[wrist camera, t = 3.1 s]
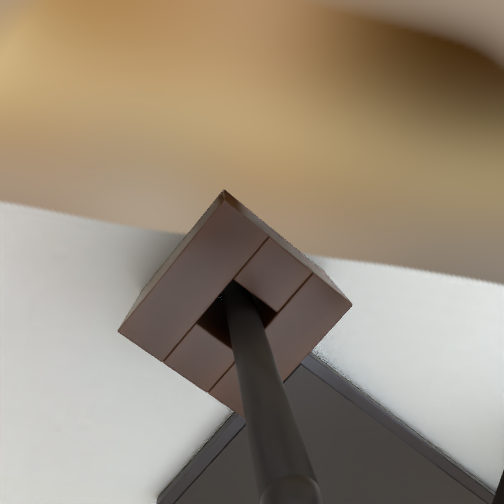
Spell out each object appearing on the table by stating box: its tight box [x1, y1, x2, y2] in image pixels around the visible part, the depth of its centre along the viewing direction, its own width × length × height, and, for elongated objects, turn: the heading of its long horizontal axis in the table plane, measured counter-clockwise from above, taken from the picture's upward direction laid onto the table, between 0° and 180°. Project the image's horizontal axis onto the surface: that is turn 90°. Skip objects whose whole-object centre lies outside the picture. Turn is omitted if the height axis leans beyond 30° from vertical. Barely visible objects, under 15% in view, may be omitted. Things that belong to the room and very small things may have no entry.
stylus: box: [222, 279, 322, 504], centre depth 15 cm, size 1×1×14 cm
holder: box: [118, 190, 352, 418], centre depth 19 cm, size 7×7×5 cm
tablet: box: [156, 352, 495, 504], centre depth 25 cm, size 18×13×1 cm
